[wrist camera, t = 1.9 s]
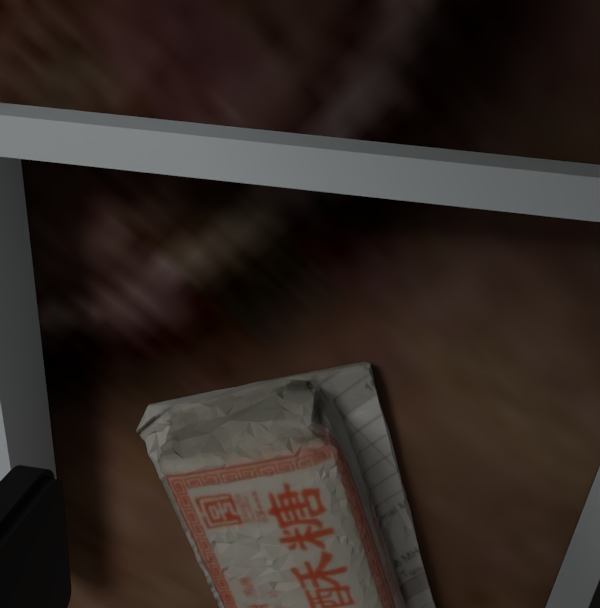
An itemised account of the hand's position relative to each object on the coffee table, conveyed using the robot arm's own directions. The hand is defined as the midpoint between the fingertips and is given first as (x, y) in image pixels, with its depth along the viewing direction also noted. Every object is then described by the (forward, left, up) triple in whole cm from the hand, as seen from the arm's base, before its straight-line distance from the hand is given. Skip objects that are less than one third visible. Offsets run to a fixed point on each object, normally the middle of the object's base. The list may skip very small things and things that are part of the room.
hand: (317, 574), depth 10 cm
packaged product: (+12, 0, -13) cm, 18 cm away
